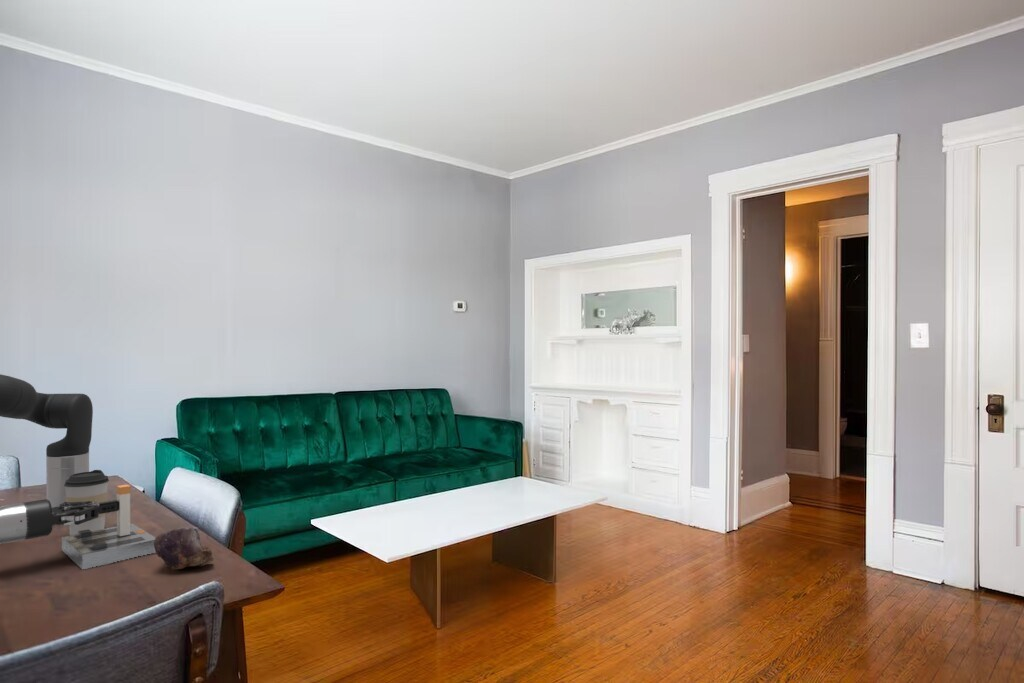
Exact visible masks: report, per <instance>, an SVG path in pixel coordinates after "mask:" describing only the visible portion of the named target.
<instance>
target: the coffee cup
mask: <svg viewBox="0 0 1024 683" xmlns="http://www.w3.org/2000/svg"><path fill="white" fill-rule="evenodd" d="M109 481H110V479H109V476H108V475H105V473H104V472H103V471H102V470H101V469H93V470H91V471H89V472H82V473H76V474H73V475H71V476H70V477H69V479H67V480H66V481H65V484H64V486H65V488H66V495H65V497H66V502H87V501H92V503H93V502H98V503H100V502H107V501H108V497H109V490H108V484H109ZM106 515H107V513H103V514H100V515H99V517H97V518H95V519H92V520H89V521H87V522H84V523H81V524H79V525H75V524H74V523H72V524H70V525H68V530H69V535H74V534H78V531H82V530H88V529H89V530H90V531H95V530H100V529H105V522H106Z"/></svg>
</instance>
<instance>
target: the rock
mask: <svg viewBox="0 0 1024 683" xmlns="http://www.w3.org/2000/svg"><path fill="white" fill-rule="evenodd" d="M154 548H155V551H156V553H155V554H156V555H157V556H158V558H160V559H162V561H163V563H164V565H165V566H166V567H167V568H169V569H173V571H174V570H180V569H184V568H186V567H188V568H189V567H190V568H191V567H193V568H194V567H204V566H206V565H207V564H209V563H212V562H213V561H214V560H215V559H214V557H213V550H211V548H209V547H207V546H202V543H201V537H200V533H199V527H197V526H181V527H177V528H174V529H172V530H167V531H166V532H164V533H162V534H160V535H158V536H155V541H154Z"/></svg>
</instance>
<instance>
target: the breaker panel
mask: <svg viewBox="0 0 1024 683" xmlns="http://www.w3.org/2000/svg"><path fill="white" fill-rule="evenodd" d="M155 538H156V536H154V535H152V534H151V533H149V532H147V531H145V530H144V529H142V528H140V527H139V526H137V525H136V524H134V523H133V522H130V534H129V535H124V536H119V535H117V525H116V526H111V527H107V528H105V527H104V529H100V530H95V531H90V530H89V529H88V530H82V531H78V534H74V535H70V534H69V535H64V536H61V551H62V552H63V553H64V554H65V555H66V556H67V555H68V556H67V557H69V559H70V560H72V562H74V564H75V565H77V566H78V567H79V568H80V569H81V570H83V569H84V570H89V569H92V567H93V568H96V566H97V567H100V566H106V565H109V564H110V565H111V564H114V563H113V562H115V563H118V562H117V561H119V562H121V561H120V560H123V561H126V560H125V559H128V560H130V559H129V558H132V559H135V558H134V557H137V558H139V557H138V556H141V557H144V556H143V555H145V556H148V555H147V554H150V555H152V554H151V553H154V554H156V553H155V552H156V551H155V548H154V541H155ZM84 570H83V571H84Z"/></svg>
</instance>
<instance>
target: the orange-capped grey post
mask: <svg viewBox="0 0 1024 683" xmlns="http://www.w3.org/2000/svg"><path fill="white" fill-rule="evenodd" d="M115 489H116V492H115V493H116V500H117V501H119V510H118V511H116V526H117V535H119V536H124V535H129V534H130V524H131V485H129V484H120V485H116V487H115Z"/></svg>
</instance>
